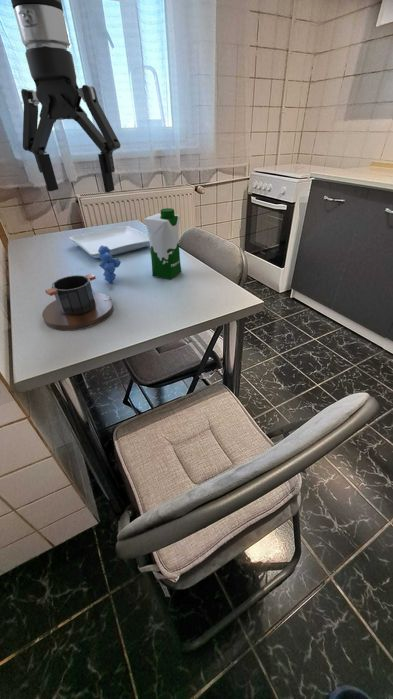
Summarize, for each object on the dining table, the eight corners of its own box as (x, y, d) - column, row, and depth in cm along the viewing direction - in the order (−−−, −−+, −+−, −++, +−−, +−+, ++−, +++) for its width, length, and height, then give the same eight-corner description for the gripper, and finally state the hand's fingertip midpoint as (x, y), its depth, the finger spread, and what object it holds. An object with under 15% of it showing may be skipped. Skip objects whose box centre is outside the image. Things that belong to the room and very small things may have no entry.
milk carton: (171, 281, 93) (165, 213, 81) (148, 276, 97) (139, 211, 85) (185, 271, 99) (182, 207, 87) (162, 267, 103) (156, 205, 91)
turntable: (50, 338, 69) (47, 332, 68) (39, 307, 82) (37, 302, 81) (123, 317, 76) (122, 311, 75) (103, 291, 89) (101, 286, 88)
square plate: (70, 245, 125) (67, 236, 123) (128, 233, 138) (127, 224, 136) (93, 263, 108) (90, 252, 105) (157, 247, 120) (156, 237, 118)
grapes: (128, 286, 91) (121, 247, 84) (106, 291, 89) (97, 251, 82) (120, 273, 100) (114, 237, 92) (100, 277, 98) (91, 240, 90)
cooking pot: (108, 302, 79) (102, 278, 75) (65, 321, 72) (56, 296, 68) (89, 293, 84) (83, 270, 80) (47, 310, 77) (38, 286, 73)
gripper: (-30, 51, 49) (19, 192, 62) (103, 37, 44) (127, 195, 57) (3, 59, 55) (42, 187, 68) (125, 47, 50) (142, 188, 63)
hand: (81, 191), depth 62 cm, fingers open, 13 cm apart
